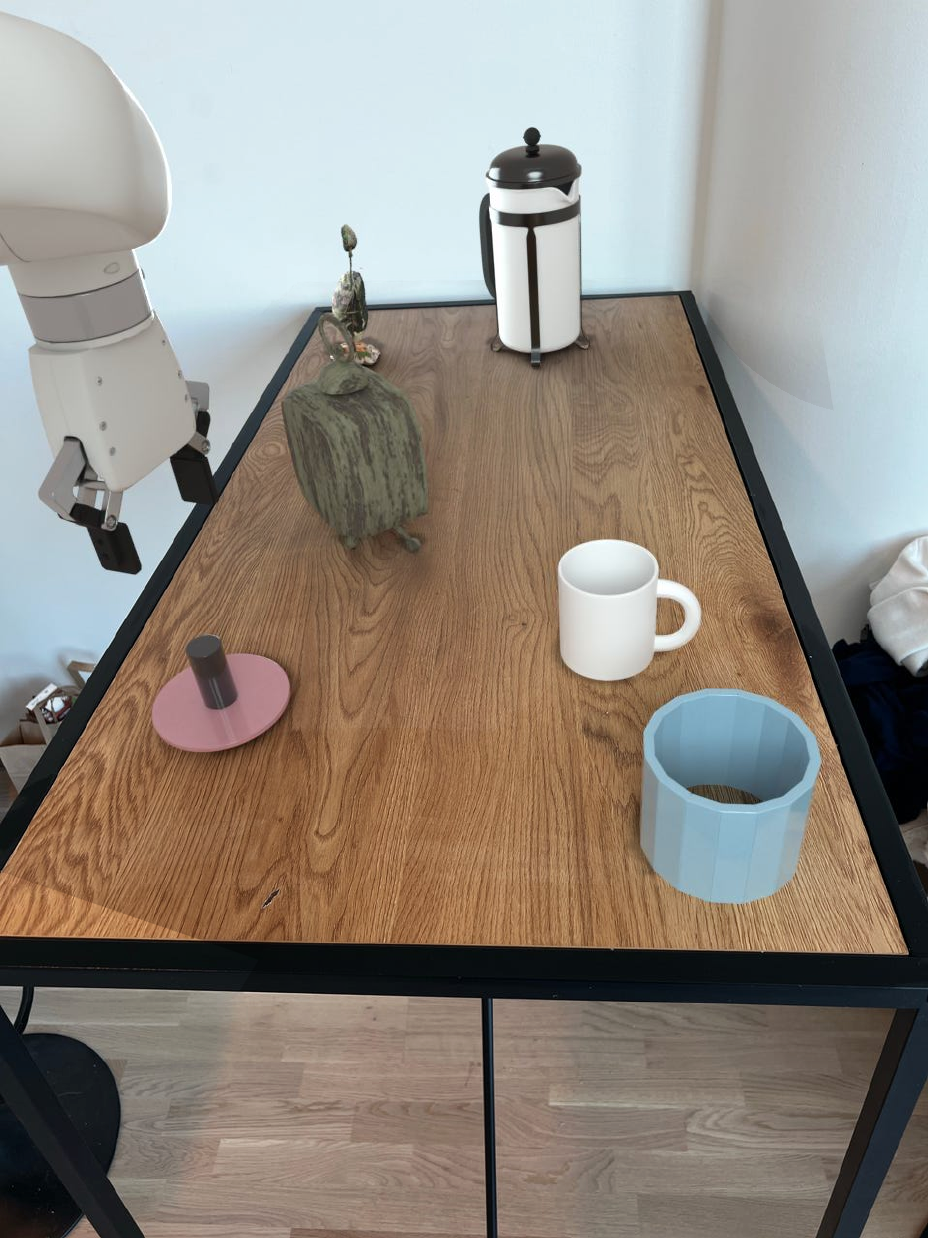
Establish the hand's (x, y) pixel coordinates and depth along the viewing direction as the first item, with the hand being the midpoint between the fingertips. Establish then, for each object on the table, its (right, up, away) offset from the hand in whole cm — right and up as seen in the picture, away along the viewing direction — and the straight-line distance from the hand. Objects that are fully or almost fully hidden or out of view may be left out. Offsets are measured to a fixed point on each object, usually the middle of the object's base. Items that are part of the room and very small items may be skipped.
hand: (164, 534), depth 70 cm
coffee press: (+33, +34, +71) cm, 86 cm away
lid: (+1, -14, +12) cm, 18 cm away
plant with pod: (+6, +34, +74) cm, 82 cm away
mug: (+37, -10, +14) cm, 41 cm away
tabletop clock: (+12, +2, +33) cm, 35 cm away
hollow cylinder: (+41, -23, -3) cm, 47 cm away
